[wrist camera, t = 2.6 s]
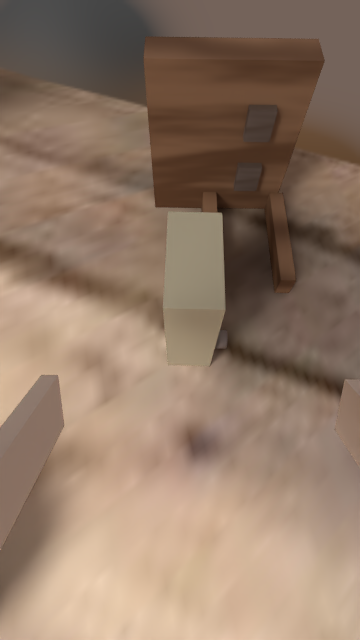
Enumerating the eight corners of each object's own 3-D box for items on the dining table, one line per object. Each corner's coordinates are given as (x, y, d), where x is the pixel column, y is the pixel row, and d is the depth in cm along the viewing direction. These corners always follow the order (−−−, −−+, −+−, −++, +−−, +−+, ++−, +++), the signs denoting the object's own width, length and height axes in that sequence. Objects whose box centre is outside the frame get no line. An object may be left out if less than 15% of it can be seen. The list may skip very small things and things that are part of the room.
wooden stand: (288, 292, 36) (362, 168, 22) (151, 291, 36) (133, 165, 22) (274, 189, 42) (324, 39, 28) (156, 188, 42) (145, 36, 28)
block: (221, 366, 33) (242, 310, 22) (167, 365, 33) (162, 308, 22) (219, 293, 36) (237, 213, 25) (170, 292, 36) (168, 211, 25)
